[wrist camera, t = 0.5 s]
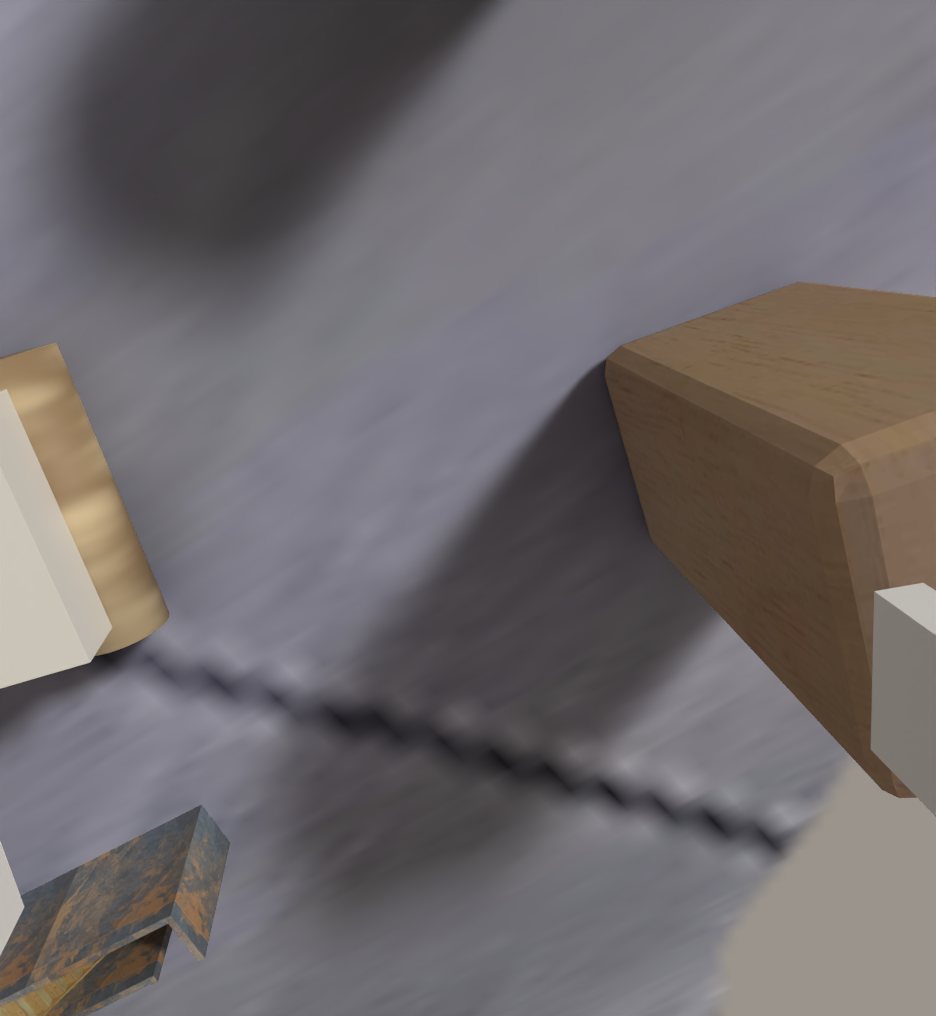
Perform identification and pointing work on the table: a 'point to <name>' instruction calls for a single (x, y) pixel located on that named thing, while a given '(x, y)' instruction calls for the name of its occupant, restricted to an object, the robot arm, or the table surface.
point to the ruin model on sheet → (114, 920)
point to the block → (793, 476)
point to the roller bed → (85, 493)
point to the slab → (39, 570)
